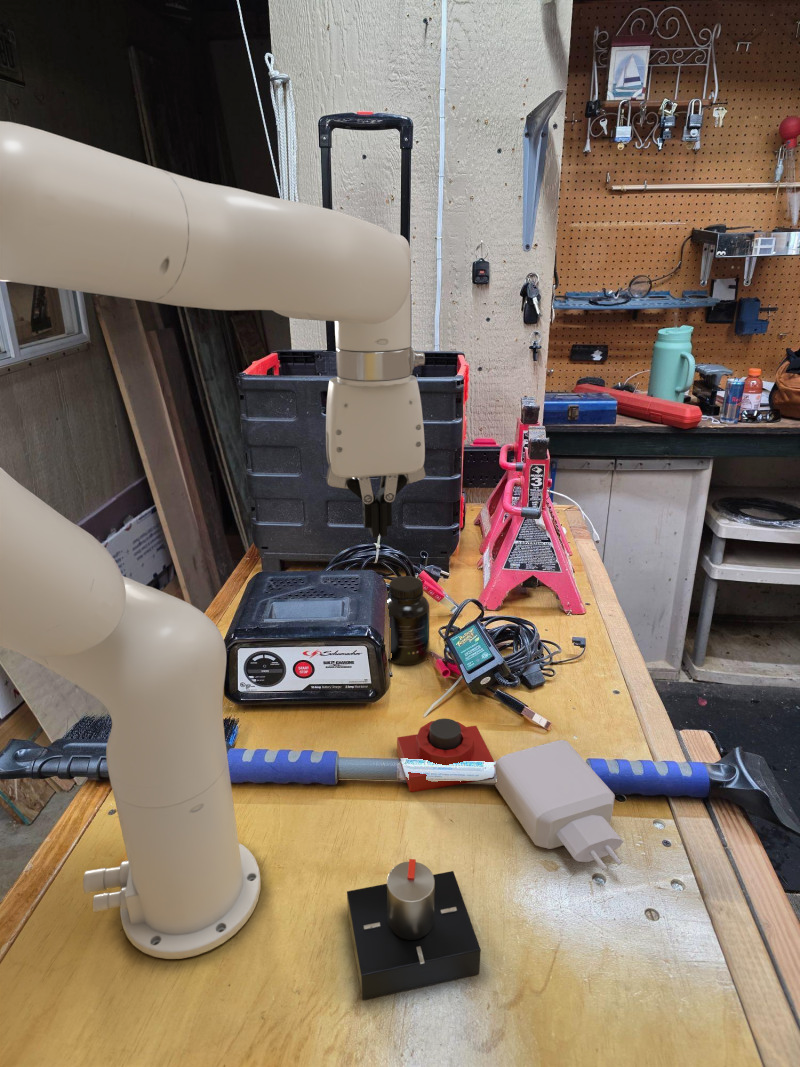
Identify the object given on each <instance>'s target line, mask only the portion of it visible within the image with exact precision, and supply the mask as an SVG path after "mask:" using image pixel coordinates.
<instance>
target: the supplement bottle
mask: <svg viewBox="0 0 800 1067" xmlns="http://www.w3.org/2000/svg"><path fill="white" fill-rule="evenodd" d="M388 586H389V587H388V588H389V589H388V596H387V597H386V599H387V603H388V609H389V617H390V628H391V653H392V658H391V661H390V662H392V663H393V664H396V665H401V666H413V665H416V664H417V665H418V664H420V663H422V662H424V660H426V659H427V658H428V656H429V653H430V617H431V616H430V614H431V613H430V612H431V611H430V609H431V608H430V603H429V601H428V599H427V598H426V597H425V596H424V584H423V581H422V580H421V579H420V578H418V577H415V576H411V575H401V576H397V577H393V579H391V580H390V582H389V584H388Z"/></svg>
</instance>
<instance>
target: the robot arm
mask: <svg viewBox="0 0 800 1067" xmlns="http://www.w3.org/2000/svg"><path fill="white" fill-rule="evenodd" d="M411 257H412V255H411V247H410V243H409V242H408V240H407V239H406V237H404V236H403V235H401V234H400V233H394V232H390V231H389V230H387V229H385V228H384V227H382V226H381V225H378V224H375V223H372V222H370V221H367V220H364V219H362V218H359V217H356V216H353V215H351V214H347V213H344V212H341V211H337V210H334V209H330V208H326V207H322V206H317V205H313V204H309V203H303V202H299V201H294V200H289V199H284V198H278V197H273V196H269V195H265V194H262V193H261V194H260V193H256V192H252V191H248V190H245V189H240V188H236V187H232V186H226V185H222V184H215V183H209V182H205V181H201V180H198V179H193V178H190V177H188V176H184V175H180V174H177V173H174V172H171V171H168V170H164V169H162V168H159V167H154V166H152V165H149V164H145V163H143V162H140V161H137V160H134V159H130V158H127V157H125V156H122V155H118V154H116V153H112V152H109V151H106V150H103V149H101V148H97V147H95V146H92V145H90V144H89V145H88V144H86V143H83V142H80V141H76V140H73V139H70V138H68V137H65V136H61V135H58V134H55V133H53V132H49V131H45V130H43V129H39V128H36V127H33V126H32V127H31V126H29V125H24V124H21V123H16V122H13V121H3V120H0V282H11V283H17V284H24V285H33V286H40V287H46V288H47V287H48V288H54V289H60V290H66V291H73V292H81V293H87V294H95V295H103V296H110V297H116V298H123V299H132V300H137V301H145V302H151V303H156V304H157V303H158V304H163V305H170V306H176V307H185V308H198V309H203V310H204V309H205V310H216V311H273V312H274V313H276V314H278V315H280V316H283V317H286V318H289V319H296V320H307V321H318V322H319V321H320V322H324V321H325V322H327V321H328V322H334V336H335V338H334V339H335V358H336V360H335V361H336V377H332V378H330V379H329V382H328V386H327V395H326V409H325V410H326V412H325V450H326V460H327V464H328V468H327V472H326V477H325V478H326V479H325V480H326V482H327V485H328V486H329V487H332V488H339V489H347V490H350V491H351V493H353V494H354V495H355V496H357V498H359V499H361V504H362V525H363V528H364V529H368V531H369V533H370V535H371V537H372V539H374V538H375V539H376V538H378V537H382V538H384V537H385V538H387V537H388V527H392V526H393V512H392V511H393V510H392V508H393V505H392V502H394V501H395V499H396V496H397V495H398V494H399V493H400V492H401V491H402V490H403V488H405V487H406V485H408V484H414V483H416V482H419V481H422V480H424V479H425V478H426V470H425V467H424V466H425V459H426V454H425V453H426V447H425V445H426V444H425V428H424V427H425V426H424V418H423V417H424V416H423V407H422V398H421V394H420V388H419V383H418V379H417V377H416V376H415V375H414V374H413V370H415V368H417V367H418V366H425V363H426V357H425V356H426V355H425V353H424V351H417V350H414V349H413V347H412V341H411V340H412V328H411V327H412V310H411V309H412V288H411V287H412V280H411V278H412V266H411V265H412V262H411V260H412V258H411ZM371 477H380V483H379V490H378V491H377V494H376V495H375V493H374V492H373V488H372V482H371ZM0 648H4V649H7V650H9V651H12V652H16V653H18V654H19V655H22V656H23V657H25V658H28V659H30V660H32V661H34V662H35V663H37V664H39V665H41V666H42V667H44V668H46V669H48V670H49V671H51V672H53V673H54V674H57V675H58V676H60V677H61V678H64V679H65V680H67V681H69V682H70V683H72V684H74V685H75V686H76V687H78V688H80V689H81V690H82V691H83V692H85V693H87V694H89V695H90V696H92V697H93V698H95V699H96V700H98V701H99V702H100V703H101V704H102V705H103V706H104V707H105V708H106V710H107V711H108V714H109V715H110V716H109V717H110V719H111V728H110V732H109V735H108V739H107V742H106V748H105V758H106V766H107V772H108V776H109V777H108V778H109V782H110V786H111V789H112V793H113V798H114V803H115V808H116V811H117V816H118V821H119V825H120V830H121V835H122V839H123V844H124V848H125V853H126V857H127V860H123V861H121V862H120V865H119V866H114V867H108V868H107V867H100V868H95V869H89V870H85V871H84V874H83V882H82V887H83V893H84V894H85V895H86V894H91V893H98V892H102V893H98V894H94V895H93V898H92V910H93V912H94V913H96V912H101V911H106V910H110V909H114V908H118V907H120V919H121V920H120V921H121V924H122V928H123V931H124V934H125V936H126V938H127V939H128V940H129V942H130V943H131V945H133V946H134V947H135V948H136V949H138V950H139V951H141V952H142V953H144V954H146V955H149V956H151V957H154V958H159V959H165V960H176V959H177V960H179V959H187V958H192V957H196V956H199V955H201V954H205V953H207V952H210V951H212V950H214V949H215V948H217V947H219V946H221V945H223V944H224V943H225V942H227V941H228V940H230V938H232V937H233V936H235V935H236V934H237V933H238V932H239V931H240V930H241V929H242V927H244V925H245V924H246V923H247V922H248V920H249V919H250V917H251V916H252V914H253V913H254V911H255V908H256V906H257V904H258V902H259V898H260V893H261V881H262V880H261V874H260V868H259V864H258V862H257V859H256V857H255V856H254V855H253V853H252V851H250V850H249V848H247V847H246V846H245V845H243V844H241V843H240V841H239V834H238V827H237V820H236V812H235V805H234V804H235V803H234V796H233V788H232V781H231V774H230V766H229V757H228V753H227V744H226V735H225V726H224V710H223V709H224V708H223V704H224V703H223V702H224V687H225V681H226V671H227V648H226V643H225V639H224V638H223V635H222V633H221V631H220V629H219V627H218V626H217V625H216V624H215V623H214V621H213V620H212V619H211V618H210V617H209V616H208V615H206V613H204V612H203V611H202V610H200V609H199V608H197V607H196V606H194V605H193V604H191V603H188V602H187V601H185V600H183V599H181V598H179V597H176V596H174V595H171V594H168V593H167V592H164V591H161V590H159V589H157V588H155V587H153V586H149V585H146V584H143V583H141V582H139V581H136V580H134V579H131V578H129V577H126V576H124V575H123V574H122V572H121V570H120V567H119V565H118V563H117V561H116V560H115V558H114V557H113V556H112V555H111V553H110V552H109V550H108V549H107V548H106V546H104V545H103V544H102V543H101V542H100V541H99V540H98V539H97V538H96V537H95V536H93V535H92V534H91V533H89V532H88V531H87V530H85V529H84V528H82V527H81V526H79V525H77V524H76V523H73V522H72V521H71V520H69V519H68V518H66V517H65V516H64V515H63V514H61V513H59V512H58V511H57V510H55V509H54V508H53V507H52V506H50V505H49V504H47V503H46V502H45V501H44V500H42V499H41V498H39V497H38V496H37V495H35V494H34V493H33V492H31V491H30V490H29V489H27V488H26V487H25V486H23V485H22V484H21V483H19V482H18V481H16V480H15V479H14V478H13V477H12V476H11V475H10V474H9V473H8V472H6V470H4V469H3V468H2V467H1V466H0ZM119 887H120V890H119V891H114V892H113V891H112V892H109V891H108V892H104V891H107V890H108V889H115V888H119Z"/></svg>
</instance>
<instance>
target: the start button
mask: <svg viewBox="0 0 800 1067" xmlns="http://www.w3.org/2000/svg"><path fill="white" fill-rule="evenodd" d="M433 721H434V722H433V723H432V724H431V725H430V743H431V745H432V746H433V747H435V748H437V749H441V750H451V749H455V748H457V747H458V746H459V744H460V742H461V727H460V725H459V724H458V723H457V722H458V721H457V720H454V719H451V718H439V719H438V718H437V719H436V720H433Z"/></svg>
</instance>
